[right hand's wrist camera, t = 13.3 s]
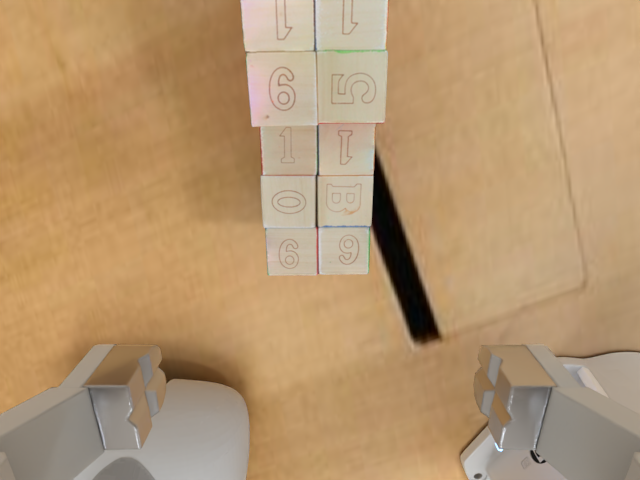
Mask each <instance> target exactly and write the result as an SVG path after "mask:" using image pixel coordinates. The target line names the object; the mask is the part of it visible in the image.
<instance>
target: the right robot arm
mask: <svg viewBox="0 0 640 480" xmlns="http://www.w3.org/2000/svg"><path fill="white" fill-rule="evenodd" d="M161 361H162V355H161V350H160V347H158V346H157V345H138V344H118V345H117V344H98V345H95V346H93V347H92V348H91V349H90V351H89V352H88V353H87V354H86V355H85V356H84V358H83V359H82V360H81V361H80V362H79V363H78V365H77V366H76V367H75V368H74V369H73V370H72V372H71V373H70V374H69V375H68V376H67V378H66V379H65V380H64V381H63V382H62V383H61V385H60V386H59V387H51V388H49V389H48V390H46V391H44V392H42V393H40V394H38V395H36V396H34V397H32V398H30V399H28V400H27V401H25V402H23V403H21V404H19V405H17V406H15V407H13V408H11V409H9V410H7V411H6V412H4V413H2V414H0V480H73V479H74V478H75V477H76V476H77V475H79V474H80V473H81V472H82V471H83V470H84V469H86V468H87V467H88V466H89V465H90V464H91V463H92V462H94V461H95V460H96V459H97V458H98V457H99V456H101V455H102V454H103V453H104V450H129V449H142V447H143V445H144V443H145V441H146V438H147V436H148V434H149V432H150V430H151V428H152V421H151V418H152V417H153V416H154V415H156V414H157V413H159V412H160V409H161V407H162V405H163V403H164V398H165V394H166V377H165V373H164V372H163V371H162V370H161V369H160V368H159V367H158V366H159V364H160V362H161ZM478 361H479V362H480V364H481V366H482V367H481V368H480V369H479V370H478V371H477V372H476V373H475V378H474V394H475V399H476V402H477V405H478V407H479V409H480V412H481V413H483V414H484V415H486V416H487V417H488V418H489V421H488V425H487V426H486V428H485V429H484V430H483V431H482V432H481V433H480V434H479V435H478V436H477V437H476V438H475V439H474V441H473V442H472V443H471V444H470V445H469V446H468V447H467V448H466V449H465V450H464V452H463V453H462V454H461V456H460V460H461V464H462V467H463V469H464V471H465V473H466V475H467V477H468V479H469V480H640V353H639V352H616V353H609V354H604V355H600V356H596V357H591V358H584V359H582V358H572V357H556V356H555V355H554V354H553V353H552V352H551V351H550V349H549V348H548V347H547V346H545V345H543V344H522V345H482V346H481V348H480V350H479V354H478Z"/></svg>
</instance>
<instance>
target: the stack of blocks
mask: <svg viewBox="0 0 640 480" xmlns="http://www.w3.org/2000/svg"><path fill="white" fill-rule="evenodd" d="M240 5H241V18H242V30H243V41H244V48H245V52H246V69H247V80H248V92H249V105H250V116H251V125H252V127H260V146H261V166H262V174H261V176H260V182H261V203H262V218H263V227H264V228H265V231H266V252H267V272H268V275H317V274H368V273H369V253H370V226H371V222H372V198H373V173H374V158H375V124H381V123H384V122H385V110H386V89H387V65H388V52H387V49H386V44H387V29H388V5H389V0H240Z"/></svg>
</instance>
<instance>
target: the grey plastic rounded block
mask: <svg viewBox="0 0 640 480" xmlns="http://www.w3.org/2000/svg"><path fill="white" fill-rule="evenodd" d="M151 421H152V428H151V430H150V432H149V434H148V436H147V438H146V441H145V443H144V445H143V447H142V449H129V450H104V453H103V454H102V455H101V456H99V457H98V458H97V459H96V460H95V461H94V462H92V463H91V464H90V465H89V466H88V467H87V468H86V469H84V470H83V471H82V472H81V473H80V474H79V475H77V476H76V477H75V478H74V479H73V480H246V475H247V468H248V459H249V443H250V426H249V415H248V410H247V406H246V403H245V400H244V399H243V397H242V396H241V394H239V393H238V392H237V391H236V390H235V389H233V388H231V387H229V386H226V385H223V384H219V383H214V382H208V381H199V380H186V379H172V380H170V381H169V382H168V383H167V384H166V394H165V398H164V403H163V405H162V407H161V409H160V412H159V413H157V414H156V415H154V416H153V417H152V418H151Z"/></svg>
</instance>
